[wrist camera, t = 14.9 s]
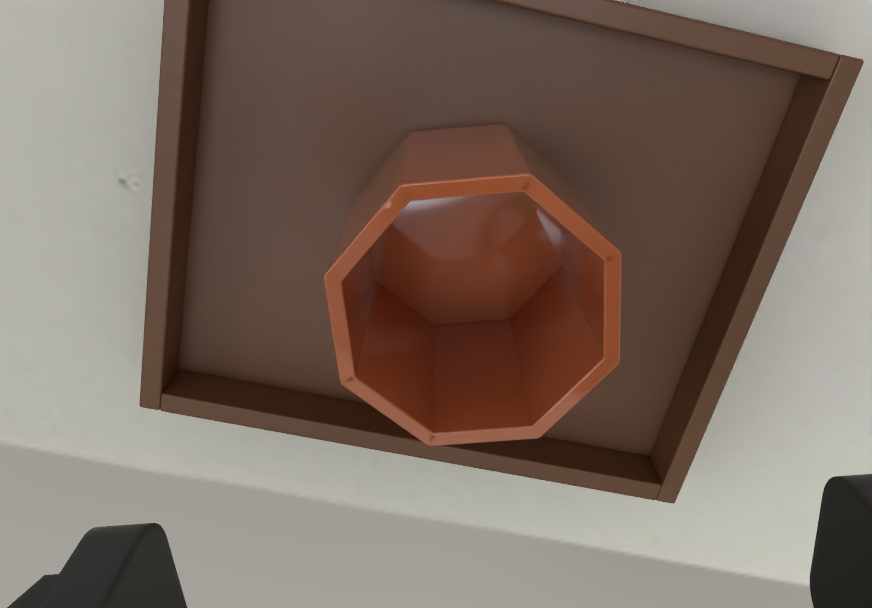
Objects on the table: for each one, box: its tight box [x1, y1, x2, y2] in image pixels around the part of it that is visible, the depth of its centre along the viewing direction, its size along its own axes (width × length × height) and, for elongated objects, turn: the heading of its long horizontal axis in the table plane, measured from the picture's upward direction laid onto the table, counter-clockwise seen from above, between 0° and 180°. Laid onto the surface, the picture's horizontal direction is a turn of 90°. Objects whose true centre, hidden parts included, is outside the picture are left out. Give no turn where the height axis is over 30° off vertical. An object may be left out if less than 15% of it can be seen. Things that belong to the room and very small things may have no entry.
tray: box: [140, 0, 864, 503], centre depth 20 cm, size 16×13×2 cm
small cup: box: [324, 124, 622, 446], centre depth 17 cm, size 6×6×6 cm
